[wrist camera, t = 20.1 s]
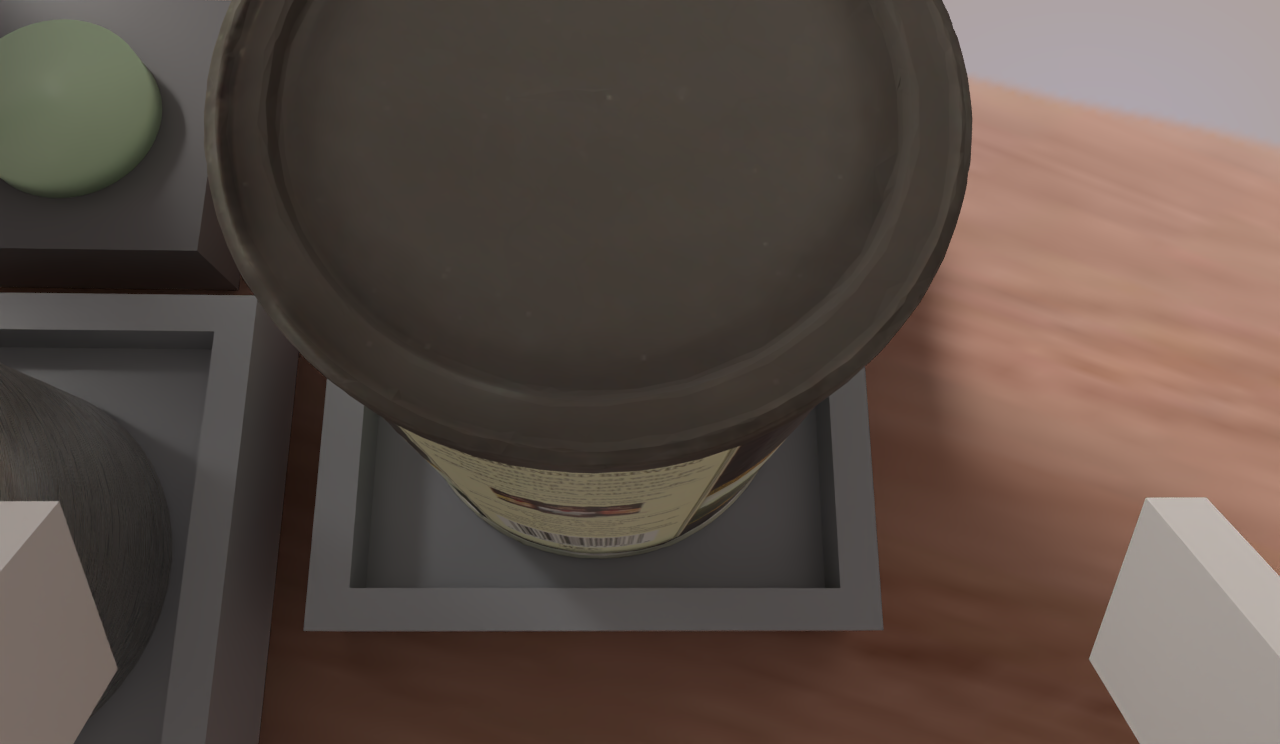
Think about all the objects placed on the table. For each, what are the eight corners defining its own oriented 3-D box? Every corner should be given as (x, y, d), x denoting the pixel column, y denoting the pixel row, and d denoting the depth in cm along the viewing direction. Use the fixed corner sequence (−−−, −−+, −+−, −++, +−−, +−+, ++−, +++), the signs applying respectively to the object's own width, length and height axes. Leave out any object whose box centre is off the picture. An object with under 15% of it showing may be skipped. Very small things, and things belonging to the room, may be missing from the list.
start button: (16, 55, 30) (-70, -30, 26) (266, 60, 31) (218, -23, 27) (-32, 286, 28) (-133, 231, 24) (238, 289, 28) (181, 235, 24)
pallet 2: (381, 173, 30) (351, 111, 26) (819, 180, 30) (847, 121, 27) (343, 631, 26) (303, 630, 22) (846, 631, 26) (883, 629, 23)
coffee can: (702, 160, 28) (797, -290, 14) (840, 482, 25) (1112, 305, 12) (366, 267, 27) (121, -118, 13) (477, 618, 24) (315, 593, 11)
